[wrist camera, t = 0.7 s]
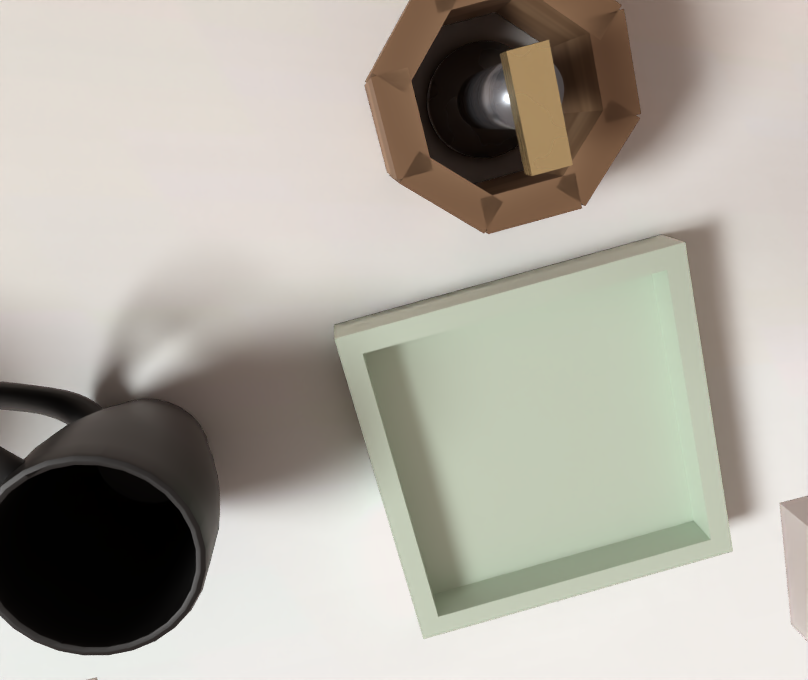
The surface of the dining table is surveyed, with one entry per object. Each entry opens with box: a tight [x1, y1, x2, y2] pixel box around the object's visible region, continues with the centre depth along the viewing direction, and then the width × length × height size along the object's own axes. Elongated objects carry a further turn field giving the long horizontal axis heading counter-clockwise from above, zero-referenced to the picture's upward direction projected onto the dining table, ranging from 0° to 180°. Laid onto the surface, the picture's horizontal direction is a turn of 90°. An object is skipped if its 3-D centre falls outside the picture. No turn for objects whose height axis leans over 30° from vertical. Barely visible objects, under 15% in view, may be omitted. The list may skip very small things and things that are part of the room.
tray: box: [334, 235, 733, 639], centre depth 37 cm, size 16×16×2 cm
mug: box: [0, 382, 220, 655], centre depth 32 cm, size 8×12×10 cm
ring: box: [365, 0, 641, 234], centre depth 31 cm, size 12×10×6 cm
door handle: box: [427, 40, 573, 176], centre depth 29 cm, size 5×5×10 cm
